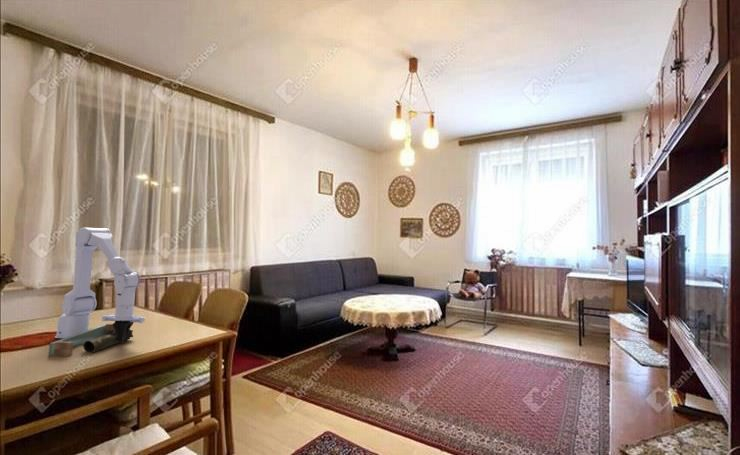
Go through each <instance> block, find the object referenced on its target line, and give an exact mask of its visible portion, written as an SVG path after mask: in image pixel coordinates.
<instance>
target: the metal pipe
mask: <svg viewBox="0 0 740 455" xmlns="http://www.w3.org/2000/svg"><path fill="white" fill-rule="evenodd" d="M133 332H134V330H132V329H131V328H130V329H129V331H128V333H127V336H126V339H125V340H124V341H122V342H120V341H118V336H117V333H116V330H115V328H114V329H110V330H109V331H108V332H107V335H104V336H101V337H99V338H95V339H92V340H88V341H86V342H85V343H83V344H82V345H83V349H84V351H85V352H87V353H90V354H92V353H95V352H97V351H99V350H103V349H104V348H107V347H109V346H113V345H115V344H120V343H128V342H129V340H130V339H131V338H134V335H133Z"/></svg>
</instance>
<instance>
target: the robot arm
mask: <svg viewBox="0 0 740 455" xmlns="http://www.w3.org/2000/svg"><path fill="white" fill-rule="evenodd" d="M75 232H76V233H75V243H74V244H75V246H74V247H75V248H76V250H75V260H74V273H73V283H72V284H73V286H72V287H73V288H72V289H71V290H70V291H69V292H67V293H66V294H64V295H63V297H64V298H63V301H62V303H61V311H62V312H63V314H61V315H60V316H59V318H58V320H57V326H56V335H55V336H54V338H55V339H64V338H67V337H69V336H72V335H75V334H78V333H81V332H84V331H86V330H89V329H90V328H89V327H90V318H91V313H92V314H93V311H94V310H95V309H96V307H97V299H96V292H94V291H93V290H92V289H91V280H92V278H91V277H92V268H93V256H94V255H93V254H94V252H93V251H95V250H96V249H97V248H99V249H100V251H101V252H102V253H103V255H104V256H105V257H106V259H107V260H108V262H107V267H108V268H109V270H110V272H111V273H112V275H113V278H114V281H113V284H114V288H115V293H116V300H115V301H116V302H115V312H114V314H104V315H102V316H101V317H102V320H101V322H108V321H109V322H113V327H114V328H115V330H116V333H117V336H118V341H120V342H121V343H123V342H122V341H124V340H125V339H126V336H127V333H128V331H129V329H130V330H131V328H132V326H133V325H134V323H139V324H143V323H145V320H146V316H140V315H135V314H134V310H135V309H134V307H135V299H136V288H137V287H138V286H139V285H140V283H141V277H140V274H139V273H137V272H135V271H134V270H132V269H131V268H130V266H129V264H128V262H127V261H126V259H125V258H124V257H121V256H119V253H118V252H117V250H116V248H115V245H114V244H113V237H114V236H113V234H112V232H111V230H110V229H109V228H107V227H104V228H102V227H101V228H99V227H95V228H94V227H86V226H83V227H81V228H79V229H78V230H77V231H75Z"/></svg>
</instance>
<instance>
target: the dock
mask: <svg viewBox="0 0 740 455" xmlns="http://www.w3.org/2000/svg"><path fill="white" fill-rule="evenodd" d="M113 323H114V322H113ZM113 323H110V322H108V323H104V324H100V325H99V326H95V327H92V328H89V329H88V330H86V331H84V332H81V333H78V334H75V335H72V336H69V337H67V338H60V339H59V340H55V341H53V342H50V343H49V348H48V355H49V356H53V355H54V357H70V356H72V355H73V348H75V347H76V348H77V347H78V346H81V345H84V343H85V342H86V341H88V340H92V339H95V338H99V337H102V336H106V335H107V332H108V331H109V330H110V329H114V327H113Z"/></svg>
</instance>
